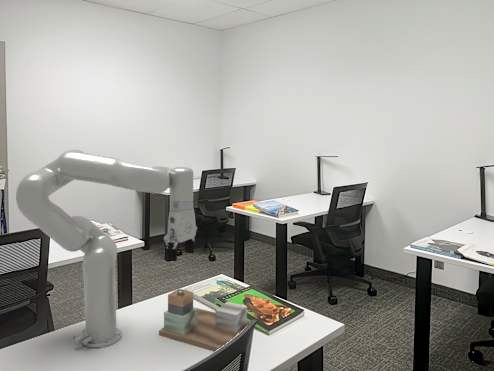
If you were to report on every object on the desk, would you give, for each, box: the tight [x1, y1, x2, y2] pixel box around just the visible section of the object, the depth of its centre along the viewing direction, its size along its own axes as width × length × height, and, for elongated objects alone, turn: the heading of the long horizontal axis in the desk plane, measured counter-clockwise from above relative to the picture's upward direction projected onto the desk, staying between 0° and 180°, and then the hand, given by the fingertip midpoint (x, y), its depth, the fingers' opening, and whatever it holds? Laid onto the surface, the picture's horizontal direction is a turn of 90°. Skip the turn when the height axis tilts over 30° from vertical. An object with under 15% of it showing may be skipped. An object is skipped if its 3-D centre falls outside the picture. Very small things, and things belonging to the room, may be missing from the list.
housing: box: [167, 288, 194, 316], centre depth 142 cm, size 6×6×7 cm
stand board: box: [158, 301, 252, 352], centre depth 145 cm, size 21×24×8 cm
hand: (181, 256), depth 140 cm, fingers open, 9 cm apart
